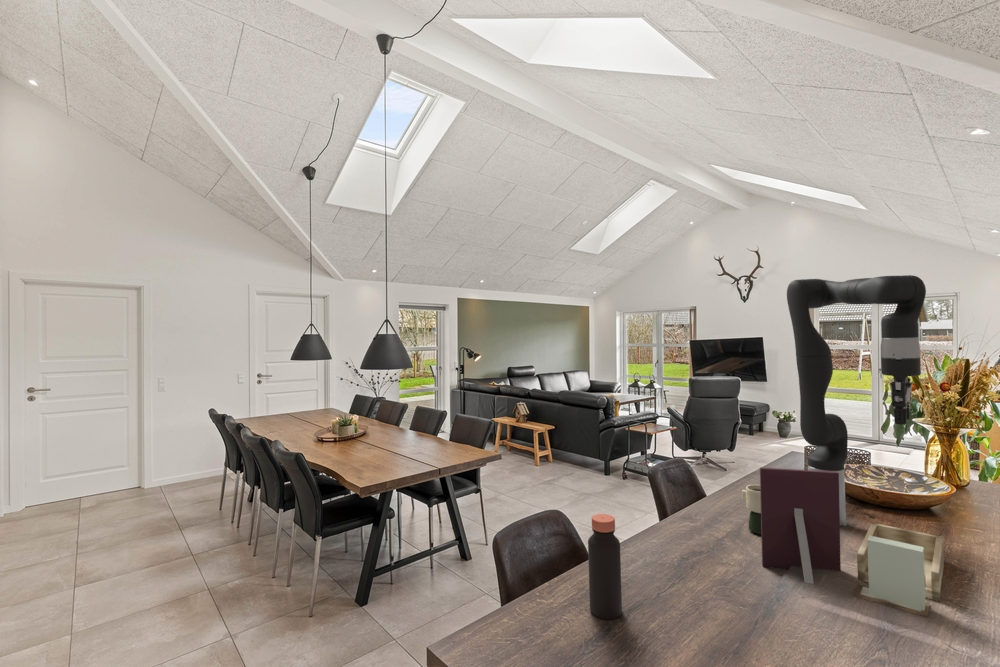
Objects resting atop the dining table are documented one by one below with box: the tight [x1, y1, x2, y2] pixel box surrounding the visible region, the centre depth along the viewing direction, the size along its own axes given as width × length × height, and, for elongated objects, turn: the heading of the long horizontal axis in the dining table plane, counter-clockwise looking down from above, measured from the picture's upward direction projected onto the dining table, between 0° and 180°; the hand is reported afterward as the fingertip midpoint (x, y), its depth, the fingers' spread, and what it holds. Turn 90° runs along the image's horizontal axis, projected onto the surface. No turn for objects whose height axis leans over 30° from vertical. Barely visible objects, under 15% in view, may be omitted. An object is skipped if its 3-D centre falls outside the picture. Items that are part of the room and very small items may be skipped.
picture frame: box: [759, 467, 842, 585], centre depth 114 cm, size 17×10×25 cm, turn 71°
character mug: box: [741, 484, 761, 535], centre depth 141 cm, size 11×7×13 cm, turn 30°
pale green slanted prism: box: [867, 535, 926, 611], centre depth 101 cm, size 9×3×12 cm, turn 46°
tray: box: [856, 522, 945, 602], centre depth 115 cm, size 14×24×7 cm, turn 135°
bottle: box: [587, 513, 623, 620], centre depth 103 cm, size 7×7×20 cm
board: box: [853, 583, 930, 618], centre depth 102 cm, size 12×6×2 cm, turn 45°
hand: (902, 421), depth 118 cm, fingers open, 8 cm apart
